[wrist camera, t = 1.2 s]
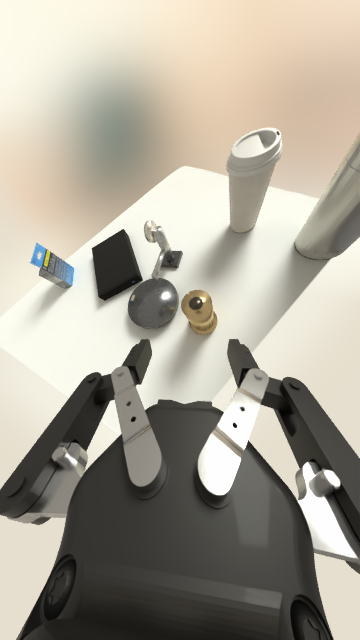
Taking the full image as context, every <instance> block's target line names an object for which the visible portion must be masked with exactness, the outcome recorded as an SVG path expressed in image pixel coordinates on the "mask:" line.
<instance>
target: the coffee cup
mask: <svg viewBox="0 0 360 640" xmlns="http://www.w3.org/2000/svg"><path fill="white" fill-rule="evenodd" d="M281 155H282V141H281V133H280V131H279V130H277V129H275V128H262V129H258V130H254V131H252V132H250V133H248V134H246V135H244V136H242V137H241V138H240V139H238V140H237V141H236V142H235V143H234V145H233V147H232V149H231V153H230V155H229V157H228V160H227V165H226V169H227V171H228V173H229V196H230V227H231V229H232V230H233V231H234V232H237V233H243V232H247V231H249V230H251V229H252V228H253V227H254V226H255V223H256V221H257V218H258V215H259V212H260V209H261V206H262V203H263V200H264V197H265V194H266V191H267V188H268V185H269V182H270V179H271V176H272V173H273V170H274V167H275V164H276V163H277V161H278V160H279V159H280V157H281Z"/></svg>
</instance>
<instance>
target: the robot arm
mask: <svg viewBox="0 0 360 640" xmlns="http://www.w3.org/2000/svg"><path fill="white" fill-rule="evenodd" d="M359 237H360V133H359V134H358V136H357V138H356V139H355V141H354V142H353V144H352V146H351V148H350V149H349V151H348V153H347V155H346V156H345V158H344V160H343V161H342V163H341V165H340V166H339V168H338V170H337V171H336V173H335V175H334V176H333V178H332V180H331V181H330V183H329V185H328V187H327V188H326V190H325V191H324V193H323V195H322V196H321V198H320V200H319V201H318V203H317V205H316V206H315V208H314V210H313V211H312V213H311V215H310V216H309V218H308V220H307V221H306V223H305V225H304V226H303V228H302V230H301V231H300V233H299V235H298V236H297V238H296V241H295V246H296V249H297V251H298V252H299V253H300V254H302V255H303V256H306V257H308V258H312V259H319V260H321V259H330V258H333V257H336V256H338V255H340V254H341V253H343V252H344V251H345V250H346V249H347V248H348V247H349V246H350V245H351V244H352V243H353V242H355V241H356V240H357V239H358V238H359ZM227 355H228V359H229V362H230V366H231V369H232V372H233V375H234V378H235V381H236V384H237V387H238V388H237V390H236V392H235V394H234V396H233V398H232V399H231V401H230V403H229V405H228V407H227V408H226V410H225V412H222V411H221V410H219V409H217V408H215V407H213V406H212V402H205V401H197V402H192V403H188V404H182V403H179V402H176V401H173V400H158V404H155V405H153V406H151V407H149V408H147V409H146V410H144V407H143V405H142V402H141V399H140V397H139V394H138V392H137V389H136V385H137V384H141V383H142V381H143V378H144V375H145V373H146V370H147V367H148V365H149V362H150V359H151V356H152V349H151V345H150V340H149V339H141V341H140V343H139V344H136V345H135V346H134V347H133V348H132V349H131V351H130V353H129V354H128V356H127V358H126V359H125V361H124V363H123V364H122V366H121V367H118V368H116V369H115V370H114V371H113V372H112V374H108V375H104V376H101V374H100V373H98V372H95V373H91V374H89V375H88V376H86V377H85V378H84V379H83V381H82V382H81V383H80V384H79V386H78V387H77V388H76V390H75V391H74V392H73V394H72V395H71V396H70V398H69V399H68V401H67V402H66V403H65V404H64V406H63V407H62V408H61V410H60V411H59V413H58V414H57V415H56V417H55V418H54V419H53V420H52V422H51V423H50V425H49V426H48V427H47V429H46V430H45V431H44V432H43V434H42V435H41V436H40V438H39V439H38V440H37V442H36V443H35V444H34V446H33V447H32V448H31V450H30V451H29V452H28V454H27V455H26V456H25V457H24V459H23V460H22V462H21V463H20V464H19V465H18V467H17V468H16V470H15V471H14V472H13V473H12V475H11V476H10V478H9V479H8V480H7V481H6V483H5V484H4V486H3V487H2V488H1V490H0V515H3V516H6V517H7V518H8V519H11V520H14V521H18V522H22V523H33V524H36V525H40V524H43V523H45V522H46V521H48V520H49V519H50V518H51V517H59V518H66V522H65V528H64V533H63V537H62V541H61V545H60V548H59V551H58V555H57V558H56V561H55V564H54V567H53V569H52V571H51V574H50V576H49V578H48V580H47V582H46V584H45V586H44V588H43V590H42V592H41V594H40V596H39V598H38V600H37V602H36V604H35V606H34V607H33V610H32V611H31V613H30V615H29V617H28V619H27V621H26V622H25V624H24V626H23V628H22V630H21V632H20V634H19V635H18V638H17V639H16V640H334V639H333V637H332V634H331V631H330V628H329V625H328V622H327V619H326V616H325V613H324V609H323V605H322V601H321V597H320V593H319V588H318V583H317V577H316V571H315V563H314V553H317V554H321V555H325V556H329V557H333V558H337V559H341V560H345V561H346V563H347V564H348V565H349V566H350V567H351V568H353V569H354V570H355V571H356V572H358V573H359V574H360V458H359V457H358V456H357V454H356V453H355V452H354V450H353V449H352V448H351V446H350V445H349V444H348V442H347V441H346V440H345V438H344V437H343V435H342V434H341V433H340V431H339V430H338V429H337V427H336V426H335V425H334V423H333V422H332V421H331V419H330V418H329V417H328V415H327V414H326V413H325V411H324V410H323V409H322V407H321V406H320V404H319V403H318V402H317V400H316V399H315V398H314V396H313V395H312V394H311V393H310V391H309V390H308V388H307V387H306V386H305V385H304V384H303V383H302V382H301V381H299V380H297V379H295V378H291V377H286V378H284V379H283V380H282V381H281V380H277V379H274V378H270V377H268V375H267V374H266V373H265V372H264V371H262V370H260V369H259V367H258V365H257V363H256V362H255V360H254V358H253V357H252V354H251V353H250V351H249V349H248V348H247V347H246V346H245V345H244V344H240V342H239V340H238V339H229V343H228V351H227ZM114 399H115V403H116V408H117V413H118V418H119V423H120V427H121V432H122V434H121V435H120V436H119V437H118V438H117V439H116V440H115V441H114V442H113V443H112V444H111V445H110V446H109V447H108V448H107V449H106V450H105V451H104V453H102V454H101V456H100V457H98V458H97V459H96V460H95V461H94V463H93V464H92V465H91V466H90V467H89V468H88V469H87V470H86V471H85V467H86V464H87V460H88V455H87V452H86V451H87V449H88V446H89V444H90V442H91V440H92V438H93V436H94V434H95V431H96V430H97V427H98V425H99V423H100V421H101V419H102V417H103V415H104V413H105V411H106V408H107V406H108V404H109V402H110V401H111V400H114ZM260 404H261V405H264V406H267V407H271V408H273V409H274V411H275V413H276V415H277V418H278V420H279V422H280V424H281V427H282V429H283V431H284V433H285V436H286V438H287V440H288V442H289V445H290V447H291V449H292V452H293V454H294V456H295V458H296V461H297V463H298V465H299V468H300V469H299V471H297V473H296V484H297V487H298V492H299V499H298V500H296V498H295V496H294V495H293V493H292V492H291V490H290V489H289V488H288V486H287V485H286V484H285V483H284V482H283V481H282V479H281V478H280V477H279V476H278V475H277V473H276V472H275V471H274V470H273V469H272V468H271V466H270V465H269V464H268V463H267V462H266V460H265V459H263V457H262V456H261V455H260V453H259V452H258V451H257V450H256V449H255V448H254V446H253V445H252V444H251V443H250V442H249V441H248V438H249V435H250V432H251V429H252V426H253V424H254V421H255V418H256V415H257V413H258V410H259V407H260ZM84 471H85V473H84Z"/></svg>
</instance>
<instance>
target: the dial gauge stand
mask: <svg viewBox="0 0 360 640" xmlns="http://www.w3.org/2000/svg"><path fill="white" fill-rule="evenodd" d="M144 233H145V237H146V239H147V241H148V242H150V243H155V242H156V241H157V242H158V244H159V246H160V248H161V252H160V255H159V258H158V260H157V263H156V266H155V268H154V271H153V273H152V277H153V278H155V280H156V281H158V280H159V279H158V277H157V274H158V271H159V269H160V267H174V268H178V266H179V263H180V260H181V257H182V254H183V253H182V251H171V248H170V246H169V244H168V241H167V239H166V237H165V234H164V232H163V230H162V228H161V226H156V224H155V223H154V222H153V221H147V222H146V223H145V226H144Z"/></svg>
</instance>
